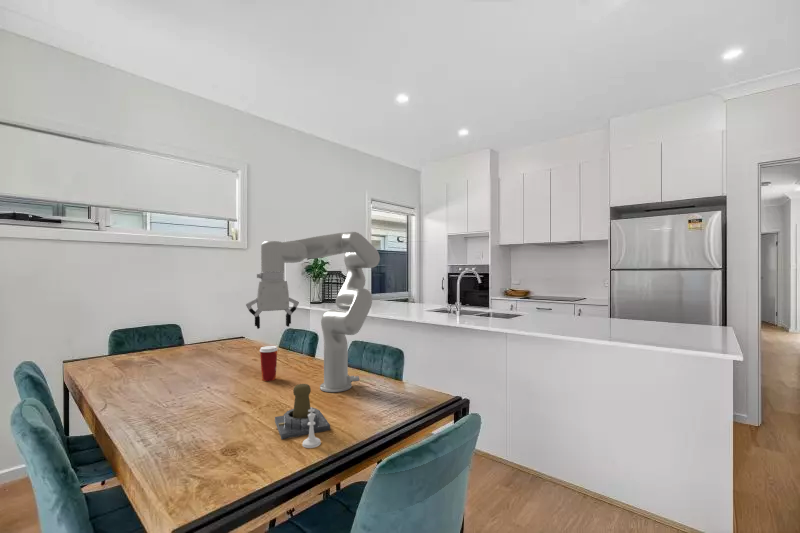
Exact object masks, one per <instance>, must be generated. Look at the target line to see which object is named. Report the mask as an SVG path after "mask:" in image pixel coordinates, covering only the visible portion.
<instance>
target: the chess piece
mask: <svg viewBox="0 0 800 533" xmlns="http://www.w3.org/2000/svg"><path fill="white" fill-rule="evenodd" d="M310 407H311V408H310V409H311V410H308V412H311V413H310V414H308V418H309V421H310V422H308V425H310V429H309V434H308V436H307V438H306V439H303V441H302V445H301V446H302V447H303V448H306V449H313V448H317V447H319V446H320V445H321V443H322V441H321V439H320V438H319V437H317V436H315V433H314V427H313V425H315V422H314V417H315V414H314V413H312V412H314V411H315V409H314V410H312V408H313V406H310Z"/></svg>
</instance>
